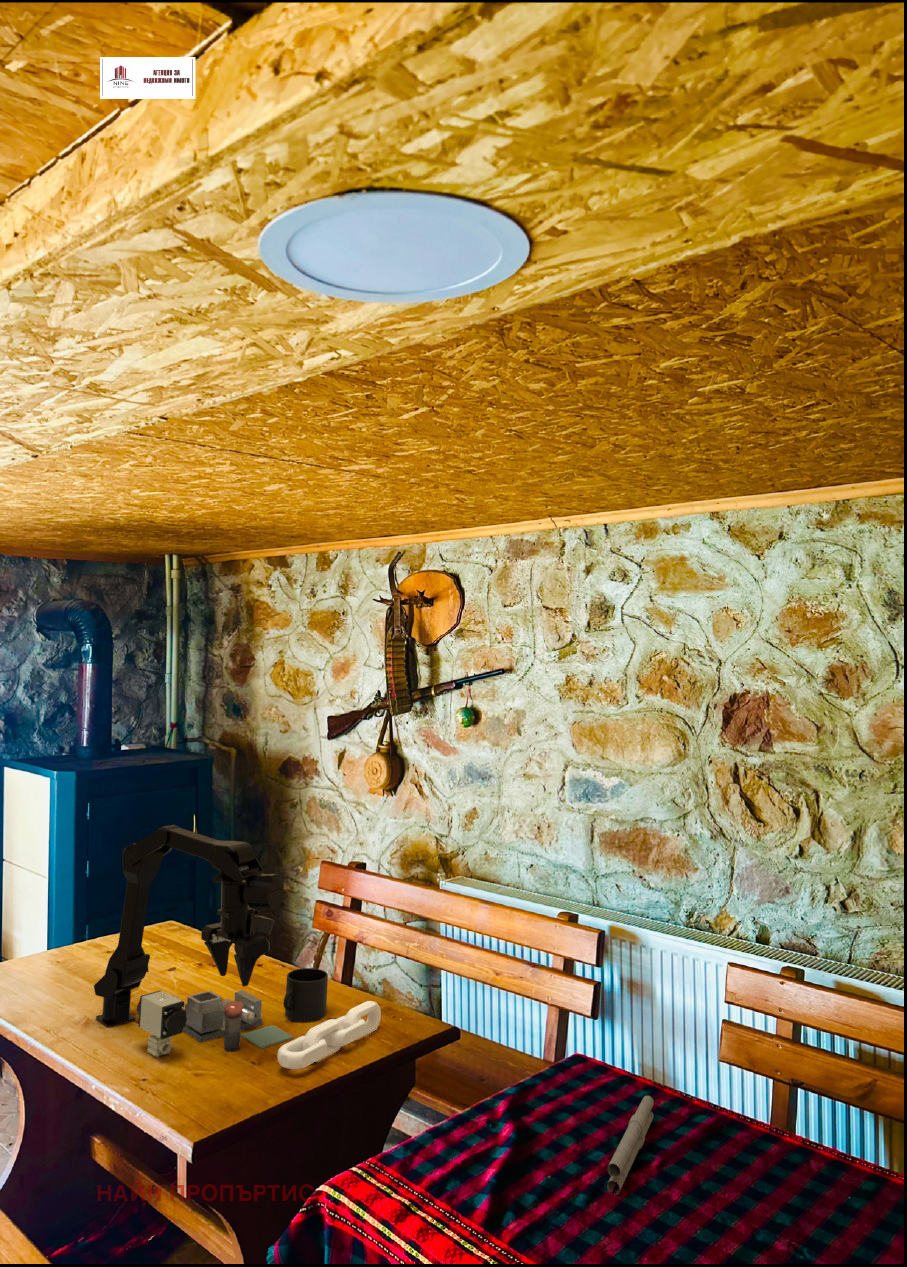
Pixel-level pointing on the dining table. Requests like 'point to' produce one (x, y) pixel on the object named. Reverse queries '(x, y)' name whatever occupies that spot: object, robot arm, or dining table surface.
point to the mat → (266, 1036)
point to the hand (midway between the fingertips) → (234, 980)
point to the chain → (330, 1036)
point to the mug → (306, 994)
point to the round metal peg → (232, 1025)
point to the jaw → (204, 1011)
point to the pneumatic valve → (161, 1020)
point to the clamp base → (218, 1031)
